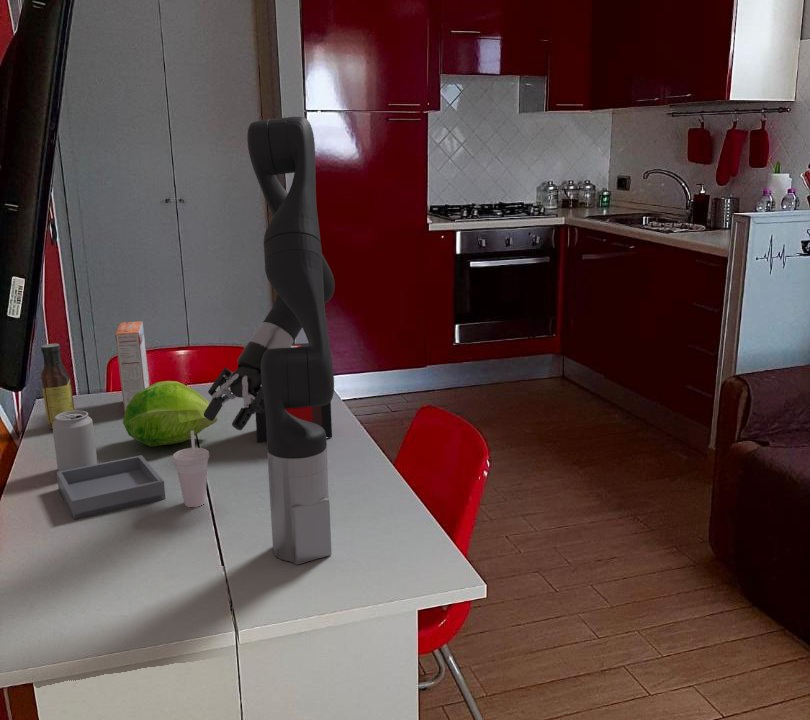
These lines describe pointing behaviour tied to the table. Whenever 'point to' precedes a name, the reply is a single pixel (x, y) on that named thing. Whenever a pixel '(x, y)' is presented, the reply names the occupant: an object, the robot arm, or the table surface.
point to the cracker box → (131, 359)
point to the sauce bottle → (55, 384)
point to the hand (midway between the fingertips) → (221, 423)
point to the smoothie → (192, 473)
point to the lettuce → (166, 414)
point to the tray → (110, 486)
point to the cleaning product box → (299, 415)
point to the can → (74, 440)
